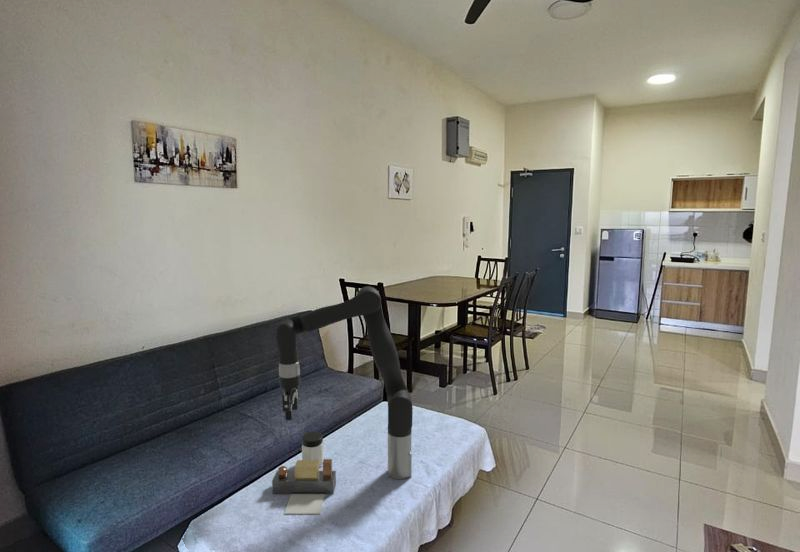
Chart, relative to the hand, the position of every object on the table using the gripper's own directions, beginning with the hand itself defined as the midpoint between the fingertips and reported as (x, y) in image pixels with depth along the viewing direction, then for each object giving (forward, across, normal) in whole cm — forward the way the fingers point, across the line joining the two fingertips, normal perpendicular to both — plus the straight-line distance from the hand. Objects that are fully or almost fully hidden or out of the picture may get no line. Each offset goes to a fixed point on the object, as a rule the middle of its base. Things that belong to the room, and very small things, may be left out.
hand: (291, 414), depth 166 cm
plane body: (+26, -7, -5) cm, 27 cm away
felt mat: (+26, -16, -7) cm, 31 cm away
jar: (+26, +9, -5) cm, 28 cm away
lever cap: (+21, -6, -6) cm, 23 cm away
